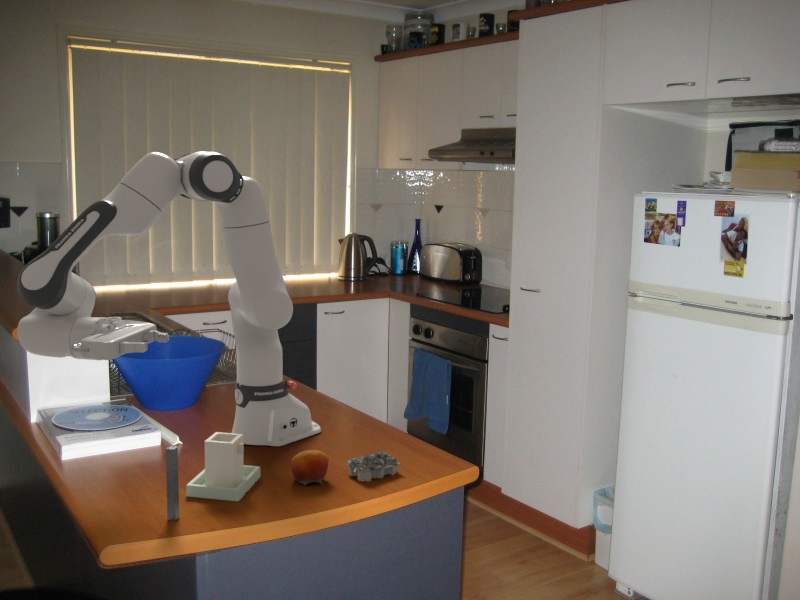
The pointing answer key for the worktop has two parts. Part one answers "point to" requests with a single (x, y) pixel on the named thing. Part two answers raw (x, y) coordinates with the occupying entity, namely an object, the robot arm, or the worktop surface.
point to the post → (172, 483)
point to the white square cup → (224, 460)
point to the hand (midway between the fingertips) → (157, 342)
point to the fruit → (309, 466)
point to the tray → (223, 493)
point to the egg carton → (372, 466)
